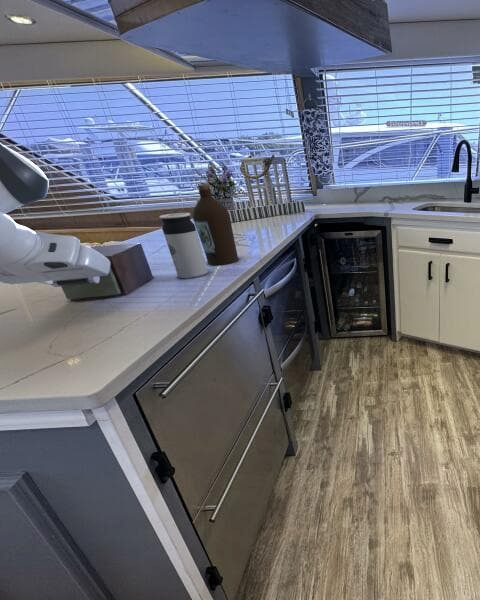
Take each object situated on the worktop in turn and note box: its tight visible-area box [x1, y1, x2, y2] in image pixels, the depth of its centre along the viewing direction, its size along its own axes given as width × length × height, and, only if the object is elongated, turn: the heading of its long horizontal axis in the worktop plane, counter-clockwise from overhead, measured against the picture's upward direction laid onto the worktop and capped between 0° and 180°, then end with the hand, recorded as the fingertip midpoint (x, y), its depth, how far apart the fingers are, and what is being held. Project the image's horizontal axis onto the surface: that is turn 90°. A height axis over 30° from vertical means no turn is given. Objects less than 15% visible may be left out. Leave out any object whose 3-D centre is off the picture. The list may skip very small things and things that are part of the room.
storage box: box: [70, 242, 154, 301], centre depth 88 cm, size 15×13×11 cm
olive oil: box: [192, 184, 239, 266], centre depth 106 cm, size 11×11×25 cm
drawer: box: [57, 265, 121, 300], centre depth 84 cm, size 18×11×9 cm, turn 12°
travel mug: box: [159, 212, 209, 279], centre depth 95 cm, size 8×8×18 cm
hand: (78, 282), depth 77 cm, fingers closed on drawer, 6 cm apart
